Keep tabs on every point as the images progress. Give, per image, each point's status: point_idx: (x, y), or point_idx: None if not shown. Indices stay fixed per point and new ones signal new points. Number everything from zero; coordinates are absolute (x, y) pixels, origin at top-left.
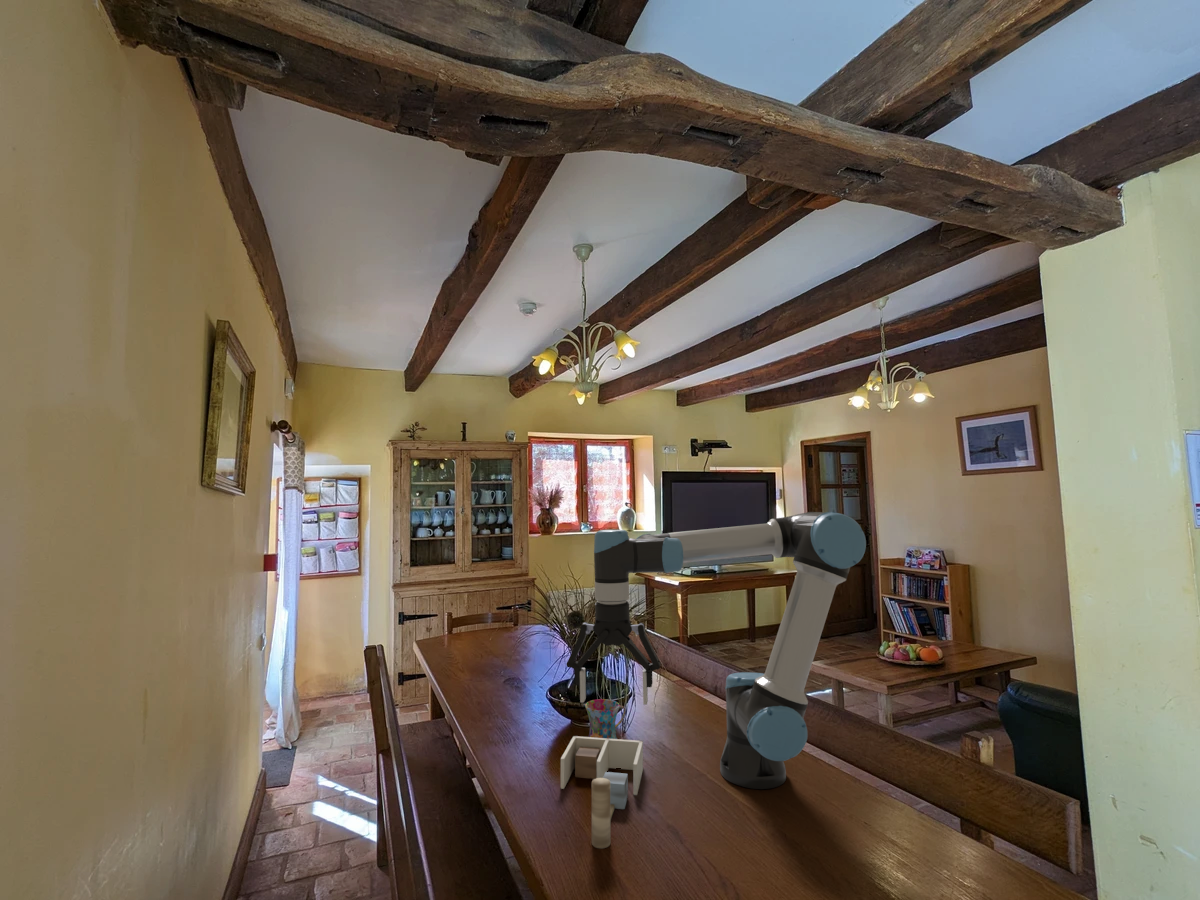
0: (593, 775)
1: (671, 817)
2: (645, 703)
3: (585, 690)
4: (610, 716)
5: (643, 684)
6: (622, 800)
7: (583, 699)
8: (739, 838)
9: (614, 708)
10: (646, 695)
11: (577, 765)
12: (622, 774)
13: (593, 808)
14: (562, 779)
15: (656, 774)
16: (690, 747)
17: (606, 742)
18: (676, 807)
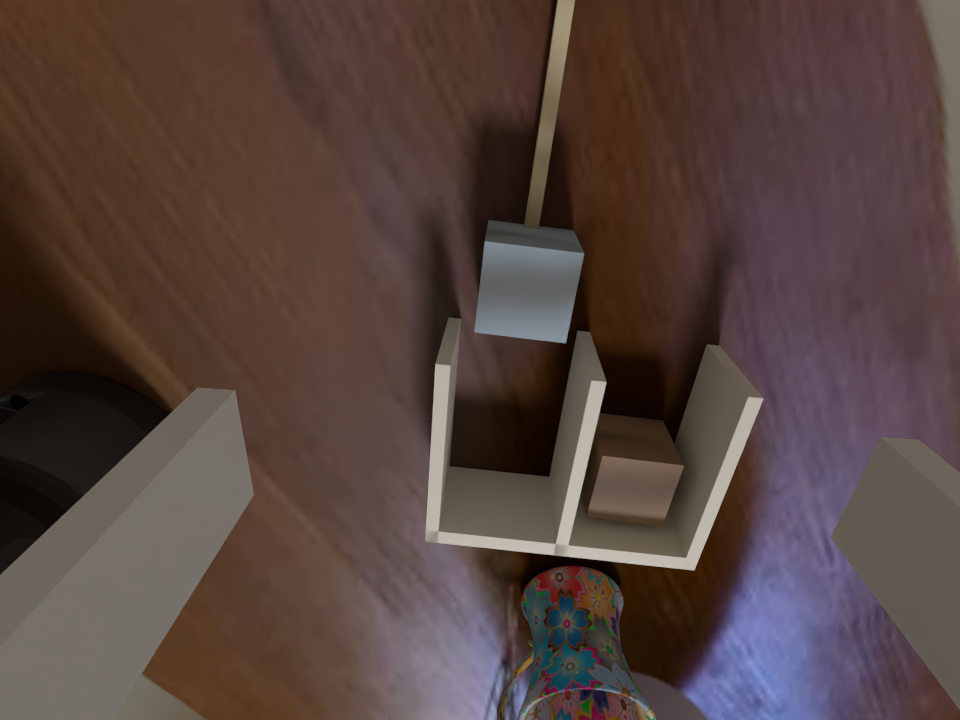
0: (601, 418)
1: (318, 177)
2: (206, 393)
3: (888, 597)
4: (552, 670)
5: (75, 551)
6: (494, 228)
7: (904, 456)
8: (63, 48)
9: (537, 717)
10: (140, 442)
11: (665, 442)
12: (495, 325)
13: None
14: (723, 358)
15: (393, 445)
16: (306, 589)
17: (564, 527)
18: (308, 247)
